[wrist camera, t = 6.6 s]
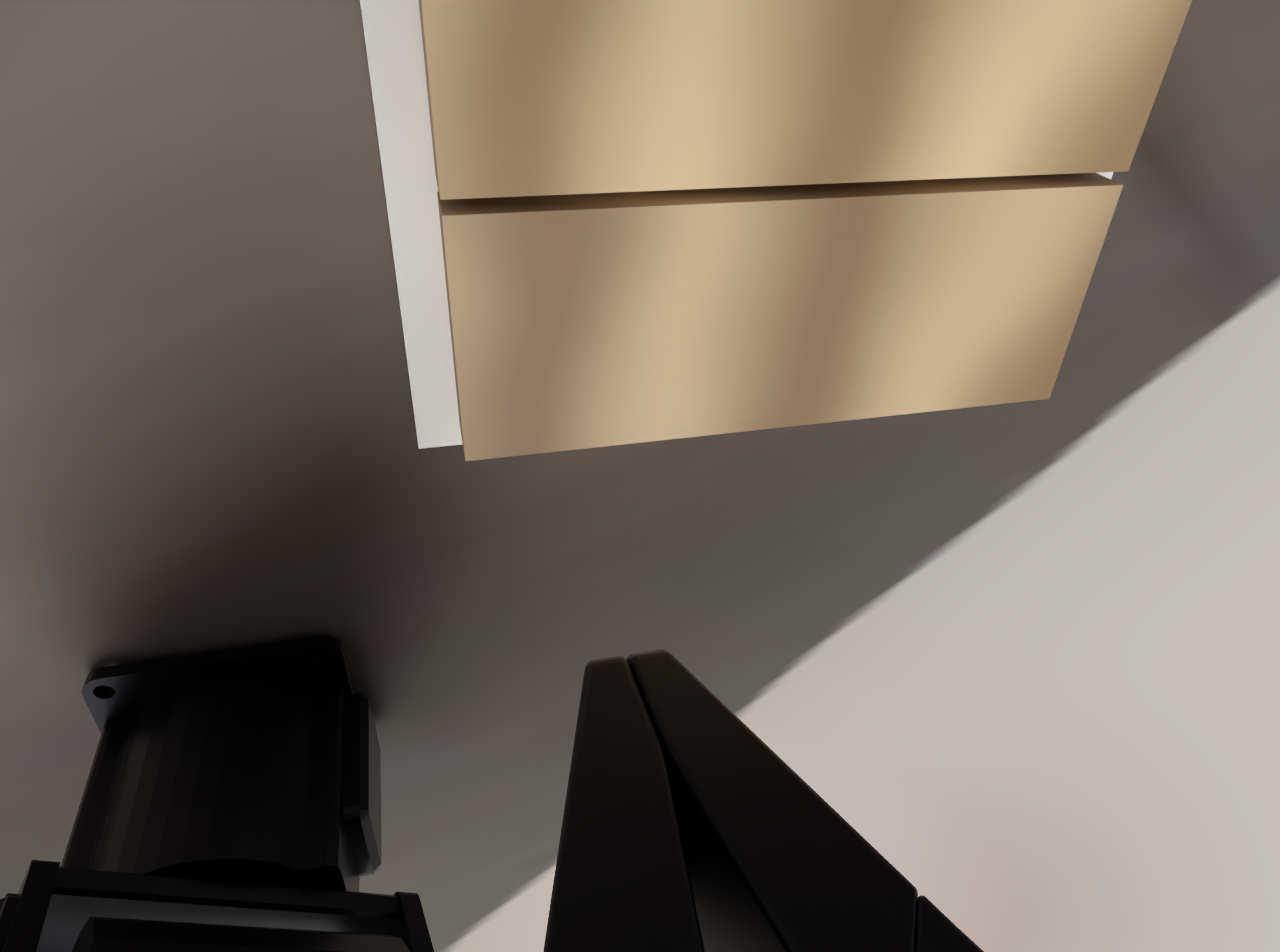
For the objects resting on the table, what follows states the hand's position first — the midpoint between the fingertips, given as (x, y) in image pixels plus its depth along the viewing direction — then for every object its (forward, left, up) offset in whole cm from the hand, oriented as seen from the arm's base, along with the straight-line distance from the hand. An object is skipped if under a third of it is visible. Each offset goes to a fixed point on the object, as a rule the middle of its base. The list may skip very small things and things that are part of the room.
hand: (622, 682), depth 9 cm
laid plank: (+6, -1, -12) cm, 14 cm away
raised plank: (+6, +5, -12) cm, 14 cm away
